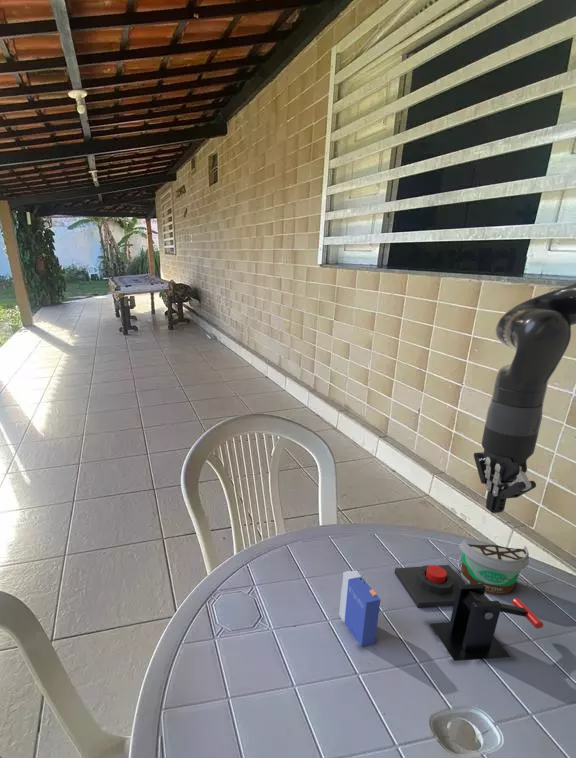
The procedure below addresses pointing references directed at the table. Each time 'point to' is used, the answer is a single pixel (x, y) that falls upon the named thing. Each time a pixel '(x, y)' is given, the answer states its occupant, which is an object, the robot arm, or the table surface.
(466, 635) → the switch bracket
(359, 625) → the walkman
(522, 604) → the lever
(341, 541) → the table surface
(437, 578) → the stop button
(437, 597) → the stop block
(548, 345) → the robot arm
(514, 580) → the food container
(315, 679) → the table surface
